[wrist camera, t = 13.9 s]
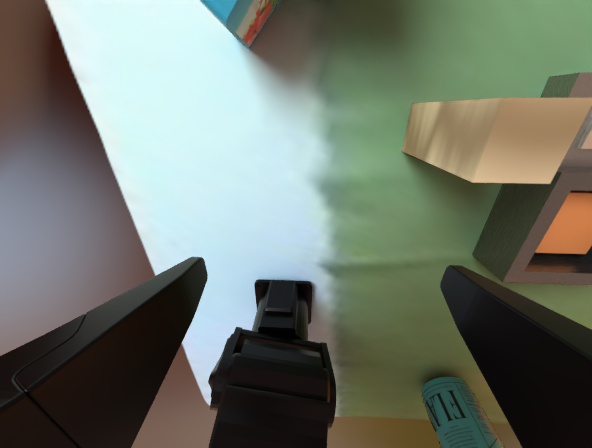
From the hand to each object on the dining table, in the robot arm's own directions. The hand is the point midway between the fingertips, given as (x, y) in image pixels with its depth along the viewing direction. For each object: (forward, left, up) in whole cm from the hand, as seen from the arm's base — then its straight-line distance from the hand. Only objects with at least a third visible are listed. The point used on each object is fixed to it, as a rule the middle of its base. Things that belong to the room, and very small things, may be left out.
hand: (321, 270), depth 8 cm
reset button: (-3, -21, -12) cm, 25 cm away
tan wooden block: (+4, -9, -13) cm, 16 cm away
